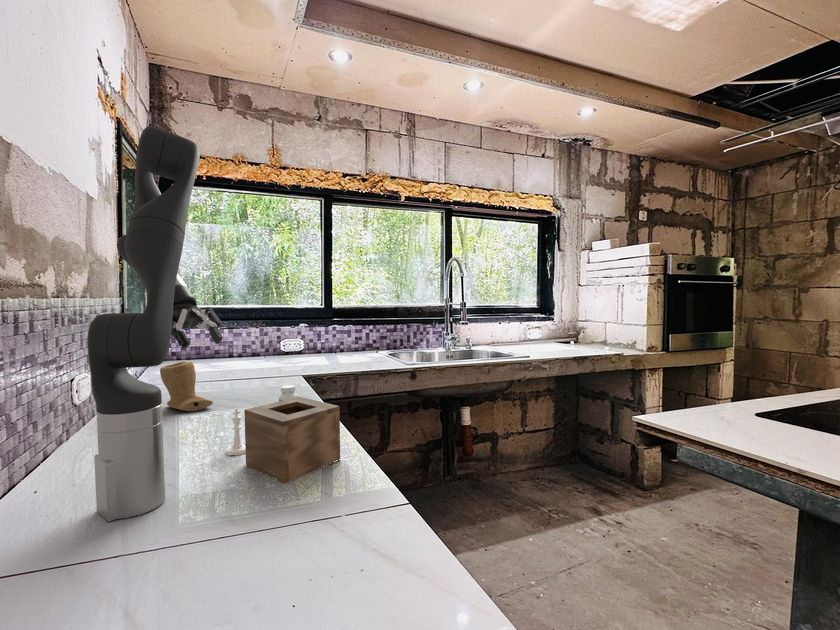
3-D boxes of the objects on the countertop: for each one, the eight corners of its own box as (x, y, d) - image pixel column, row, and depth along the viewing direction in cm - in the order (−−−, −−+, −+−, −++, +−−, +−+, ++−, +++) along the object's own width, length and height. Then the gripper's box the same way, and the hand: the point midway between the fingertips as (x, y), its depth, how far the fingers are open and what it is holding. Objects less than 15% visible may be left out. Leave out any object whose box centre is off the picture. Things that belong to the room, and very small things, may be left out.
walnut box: (284, 483, 82) (283, 421, 81) (245, 465, 90) (244, 409, 90) (340, 460, 93) (339, 406, 92) (301, 446, 101) (300, 396, 101)
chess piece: (221, 453, 97) (219, 410, 97) (239, 446, 101) (238, 405, 101) (235, 457, 95) (234, 413, 94) (253, 449, 99) (252, 407, 99)
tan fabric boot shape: (156, 408, 136) (154, 361, 135) (195, 400, 145) (193, 357, 144) (173, 417, 126) (171, 367, 125) (214, 408, 135) (212, 362, 134)
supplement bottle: (301, 417, 125) (300, 384, 125) (294, 422, 120) (293, 388, 119) (283, 416, 126) (283, 384, 125) (275, 422, 120) (275, 388, 120)
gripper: (149, 283, 97) (182, 337, 93) (205, 283, 110) (236, 330, 106) (136, 305, 100) (168, 358, 96) (192, 302, 113) (222, 349, 109)
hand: (204, 343), depth 101 cm, fingers open, 8 cm apart
